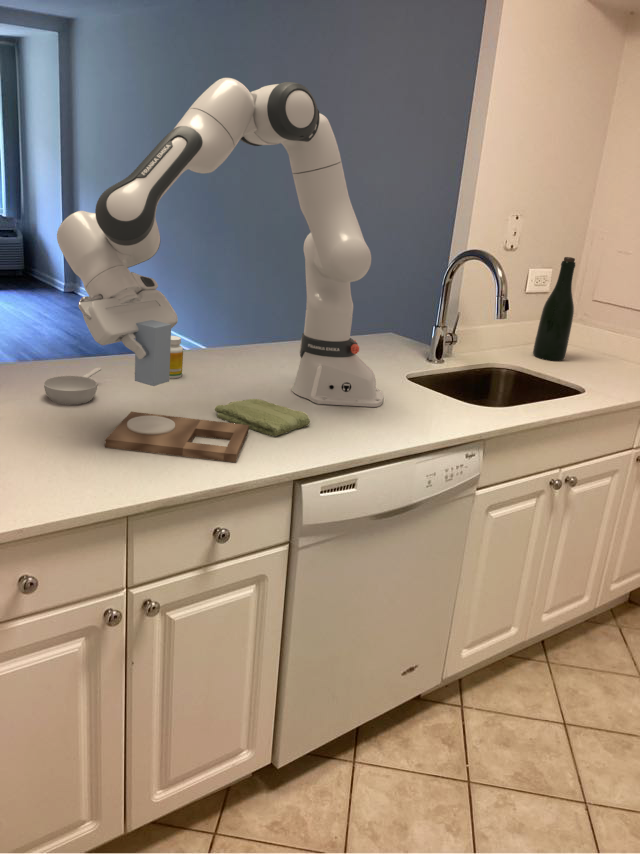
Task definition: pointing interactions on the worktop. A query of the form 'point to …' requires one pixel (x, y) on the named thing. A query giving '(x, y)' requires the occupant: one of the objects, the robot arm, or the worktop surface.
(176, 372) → the supplement bottle
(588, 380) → the worktop surface
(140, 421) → the felt coaster
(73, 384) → the saucepan
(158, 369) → the slate block
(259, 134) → the robot arm
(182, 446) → the walnut board
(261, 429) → the washcloth
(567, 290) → the green wine bottle
